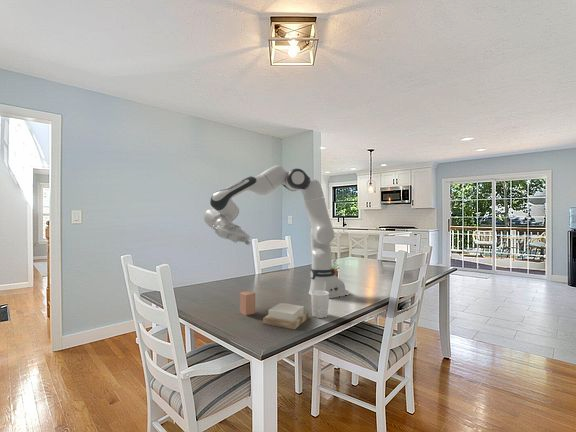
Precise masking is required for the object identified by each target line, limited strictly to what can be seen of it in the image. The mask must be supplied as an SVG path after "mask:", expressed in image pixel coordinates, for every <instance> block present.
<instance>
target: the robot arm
mask: <svg viewBox="0 0 576 432" xmlns="http://www.w3.org/2000/svg"><path fill="white" fill-rule="evenodd" d="M280 186H283V187H284V188H285V189H287V190H288V191H291V192H297V191H300V192H301V193H302V195H303V198H304V199H303V200H304V205H305V209H306V214H307V218H308V220H309V224H310V227H311V228H310V231H309V233H310V238H309V239H310V250H311V268H310V284H309V285H310V286H309V291H308V294H309V296H311V292H312V291H326V292H329V299H333V298H339V296H340V297H345V295H347V296H350V295H349V294H350V291H349V290H347V289H346V284H345V282H344V281H343V280H342V279H340V278H339V277H338V276H337V274H338V273H339V270H338V269H334V268H332V267H333V266H332V265H333V264H332V263H333V261H332V258H333V257H332V256H333V255H332V249H331V248H332V247H331V242H333V240H334V239H335V232H334V227H333V223H332V221H331V218H330V216H329V213H328V208H327V204H326V198H325V195H324V191H323V188H322V186H321V183H320V181H319V180H318V179H315V178H310V176H308V175H307V173H306V171H304V170H303V169H301V168H293V169H291V170H290V171H288V170H286V169H285V168H284V167H283V166H282V165H279V164H276V165H274V166H271V167H269V168H267V169H266V170H264V171H263V172H261V173H259V174H258V175H255V176H247V177H245V178H242V179H241V180H238V181H237V182H234V184H231V185H229V186H228V187H225V188H223V189H220V190H217V191H216V192H214V193H213V194H212V196H211V198H210V201H209V202H210V203H209V204H210V206H211V207H212V209H211V208H210V209H207V210H206V211H205V213H204V215H203V220H204V223H205V224H206V225H207V226H208V227H209V228H210V229H211V230H212V231H214V233H215V234H216V235H217V236H218V237H219V238H221V239H224V240H225V239H226V240H229V241H232V242H233V243H235V244H237V243H238V242H239V243H243V244H245V245H246V246H250V245H251V241H250V239H251V236H250V235H249V234H248V233H247V232H246V231H244V230H243V229H242V228H241V226H239V225H237V224H235V223H233V221H234V220H235V219H236V218H237V217H238V216H239V214H240V208H239V206H238V205H237V204H236V203H235V201H233V198H235V197H236V196H238V195H240V194H242V193H244V192H246V191H249V192H253V193H255V194H257V195H260V196H267V195H268V194H270V193H272V192H273V191H274V190H275V189H277V188H278V187H280Z"/></svg>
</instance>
